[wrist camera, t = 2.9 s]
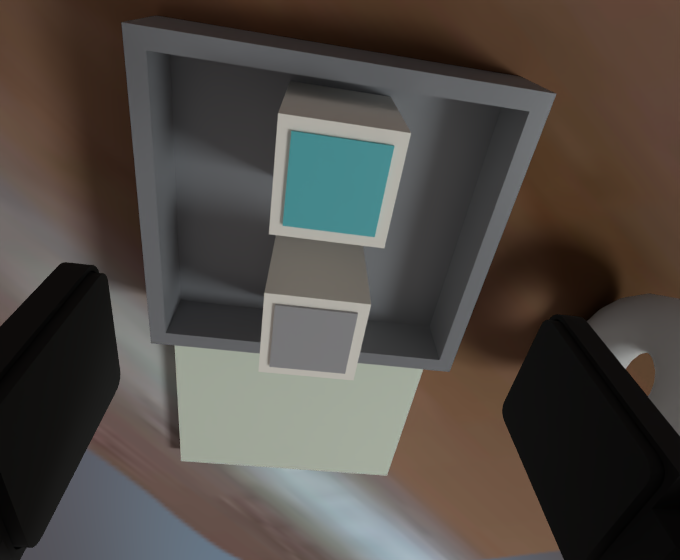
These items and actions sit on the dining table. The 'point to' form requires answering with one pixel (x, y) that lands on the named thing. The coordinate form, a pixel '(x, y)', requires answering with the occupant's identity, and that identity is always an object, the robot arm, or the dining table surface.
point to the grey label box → (314, 309)
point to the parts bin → (257, 180)
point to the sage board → (289, 414)
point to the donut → (647, 343)
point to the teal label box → (336, 165)
